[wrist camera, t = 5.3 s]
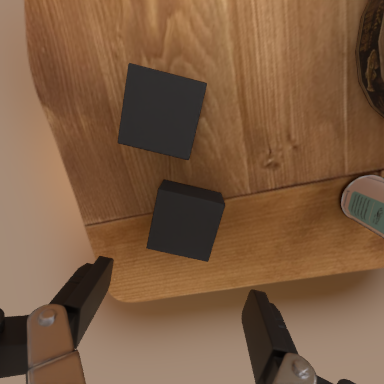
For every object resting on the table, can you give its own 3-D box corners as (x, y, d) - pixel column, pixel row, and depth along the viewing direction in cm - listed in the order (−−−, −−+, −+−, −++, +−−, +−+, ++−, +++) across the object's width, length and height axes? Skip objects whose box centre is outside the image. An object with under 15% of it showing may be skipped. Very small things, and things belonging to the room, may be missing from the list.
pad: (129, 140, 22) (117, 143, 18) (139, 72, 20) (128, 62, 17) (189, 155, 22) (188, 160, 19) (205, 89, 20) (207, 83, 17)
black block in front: (152, 231, 24) (146, 248, 21) (163, 179, 23) (158, 188, 19) (206, 243, 25) (208, 262, 21) (221, 192, 23) (225, 204, 20)
